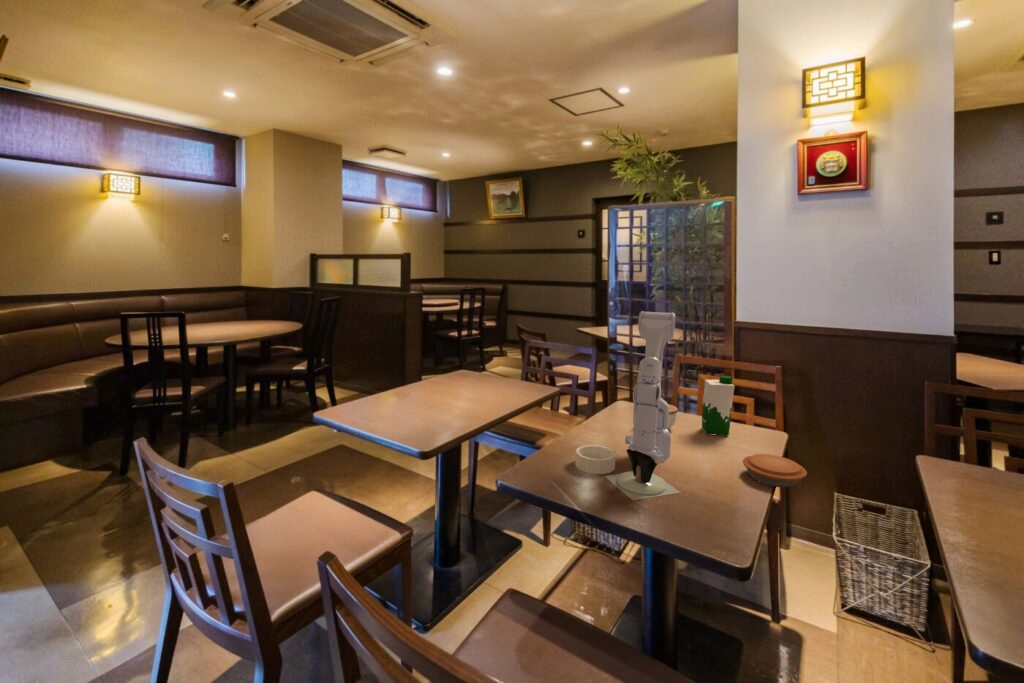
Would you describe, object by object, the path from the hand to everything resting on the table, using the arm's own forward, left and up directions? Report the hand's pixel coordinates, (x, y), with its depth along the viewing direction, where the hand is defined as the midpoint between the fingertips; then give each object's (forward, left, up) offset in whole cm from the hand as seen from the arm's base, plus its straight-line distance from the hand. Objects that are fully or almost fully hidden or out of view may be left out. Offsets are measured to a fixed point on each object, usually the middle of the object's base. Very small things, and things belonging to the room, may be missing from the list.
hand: (641, 478), depth 125 cm
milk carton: (-49, -29, -2) cm, 57 cm away
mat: (0, 0, -2) cm, 2 cm away
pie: (-38, +6, -2) cm, 39 cm away
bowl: (+6, -14, -2) cm, 15 cm away
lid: (0, 0, -1) cm, 1 cm away
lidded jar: (-33, -38, -2) cm, 50 cm away
